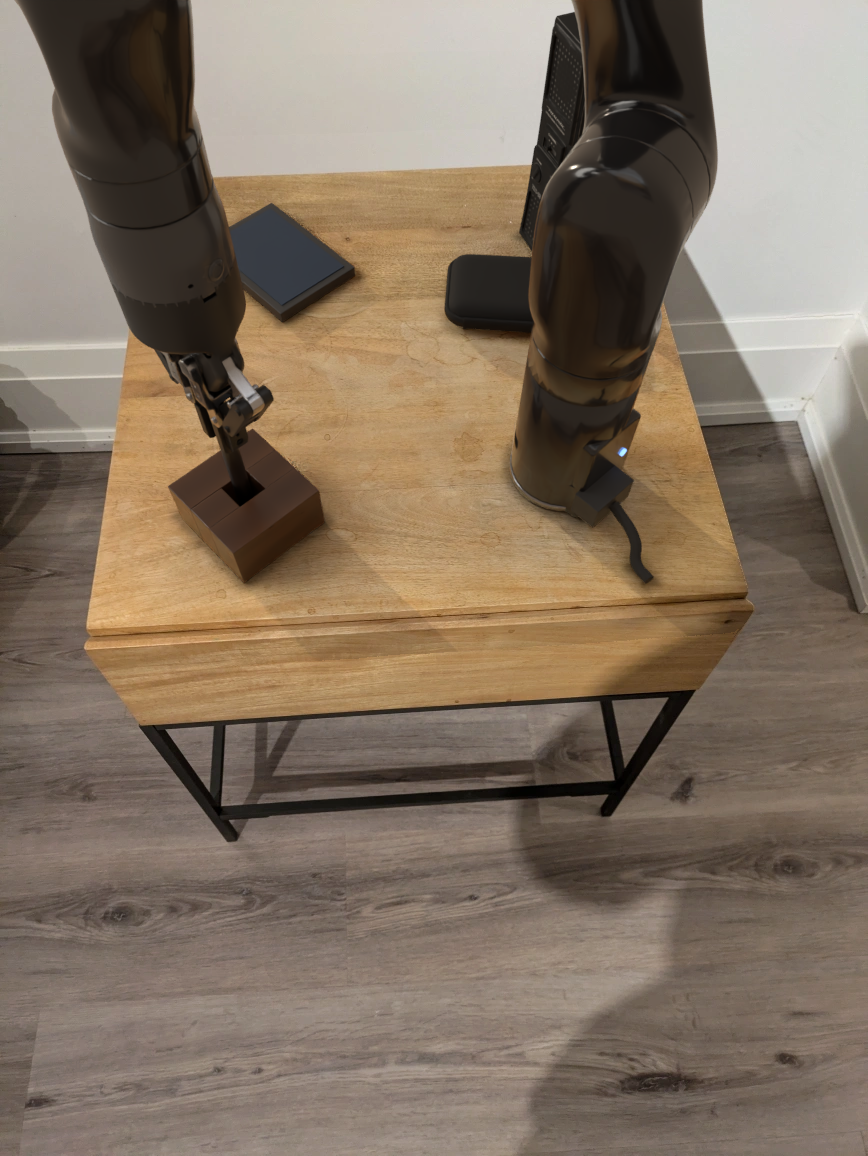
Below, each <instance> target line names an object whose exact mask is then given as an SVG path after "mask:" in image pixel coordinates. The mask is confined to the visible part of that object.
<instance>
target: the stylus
mask: <svg viewBox="0 0 868 1156" xmlns="http://www.w3.org/2000/svg"><path fill="white" fill-rule="evenodd" d="M226 401H227V400H226ZM226 401H224V402H222V403H221V404H220V405H222V404H223V403H225V402H226ZM206 410H207V409H206ZM207 412H208V411H207ZM220 450H221V453H222V456H223V459H224V462H225V465H226V468H227V471H228V474H229V477H230V480H231V483H232V486H233V489H234V492H235V495H236V498H237V501H238V504H239V506H240V507H241V506H242V505H244V504H245V503H246V502H248V501H249V500H251V499H252V498H253V497H254V496H253V493H252V489H251V486H250V483H249V480H248V476H247V473H246V470H245V466H244V463H243V460H242V456H241V453H240V450H239V448H238V449H237V450H235V451H234V452H231V453H229V454H226V453H225V452H224V451H223V450H222V449H221V448H220V447H219V451H220Z"/></svg>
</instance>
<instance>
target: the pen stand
mask: <svg viewBox="0 0 868 1156" xmlns="http://www.w3.org/2000/svg"><path fill="white" fill-rule="evenodd" d="M247 434H248V442H247V443H246V444H244V445H243V446H241V447H240V448H239V450H240V453H241V456H242V460H243V463H244V466H245V470H246V473H247V476H248V480H249V483H250V486H251V489H252V493H253V496H254V497H253V498H252V499H251V500H249V501H248V502H246V503H245V504H244V505H242V506H241V507H240V506H239V504H238V501H237V498H236V495H235V492H234V489H233V486H232V483H231V480H230V477H229V474H228V471H227V468H226V465H225V462H224V459H223V456H222V453H221V450H220V449H219V451H217V452H215V453H214V454H213V455H212V456H209V457H208V458H207V459H205V460H204V461H202V462H201V463H200V464H198V465H197V466H195V467H193V468H192V469H190V470H189V471H188V472H186V473H185V474H184V475H182V476H180V477H179V478H178V479H176V480H174V481H173V482H172V483H170V484H168V485H167V489H168V490H169V493H170V495H171V497H172V500H173V502H174V504H175V506H176V508H177V510H178V512H179V515H180V518H181V519H182V520H183V522H184V523H186V524H187V526H189V528H190V529H192V531H193V532H194V533H195V534H196V535H197V536H198V537H199V538H200V539H201V540H202V541H203V542H204V543H205V544H206V545H207V546H208V547H209V548H210V549H211V550H212V551H213V552H214V554H215V555H216V556H218V558H219V559H221V560H222V562H223V563H224V564H225V565H226V566H227V568H229V569H230V570H231V571H232V572H233V573H234V574H235V576H237V577H238V579H240V581H241V582H243V583H244V584H245V583H246V582H247V581H250V579H252V578H253V577H254V576H256V575H258V573H260V572H261V571H262V570H264V569H265V568H266V567H268V566H269V565H270V564H272V563H273V562H274V561H276V560H277V559H278V558H279V557H281V556H282V555H283V554H285V553H286V552H288V551H289V550H290V549H291V548H293V547H294V546H296V545H297V544H298V543H299V542H301V541H302V540H303V539H305V538H306V537H308V536H309V535H310V534H311V533H313V532H314V531H315V530H316V529H318V528H319V527H320V526H322V525H323V524H325V523H326V522H325V516H324V510H323V505H322V499H321V493H320V490H319V489H318V488H317V486H315V485H314V484H313V483H312V481H310V480H309V479H307V477H305V475H303V473H301V472H300V471H299V470H298V469H297V468H296V467H295V466H294V465H293V464H292V463H290V461H288V460H287V459H286V458H285V457H284V456H283V455H282V454H281V453H280V452H279V451H278V450H277V449H275V447H273V446H272V445H271V444H270V443H269V441H267V440H266V439H265V438H263V436H262V435H260V434H259V432H257V431H256V430H255V429H254V428H251V429H250V430H247Z"/></svg>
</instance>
